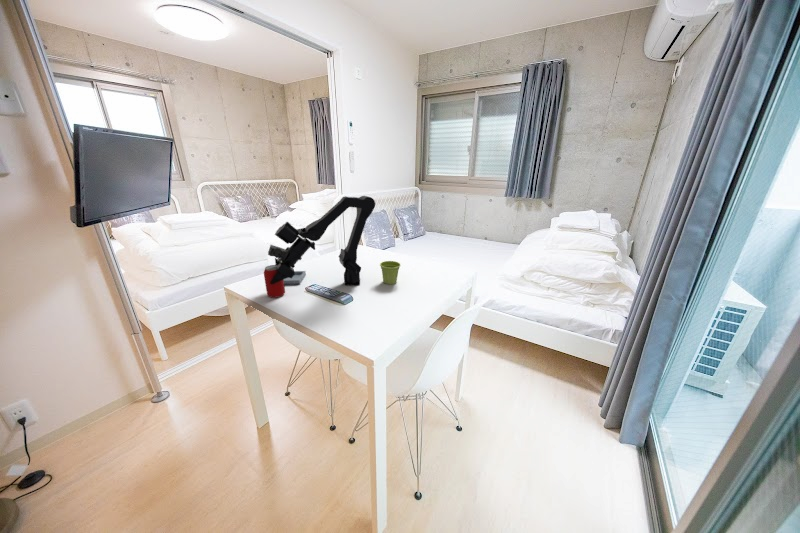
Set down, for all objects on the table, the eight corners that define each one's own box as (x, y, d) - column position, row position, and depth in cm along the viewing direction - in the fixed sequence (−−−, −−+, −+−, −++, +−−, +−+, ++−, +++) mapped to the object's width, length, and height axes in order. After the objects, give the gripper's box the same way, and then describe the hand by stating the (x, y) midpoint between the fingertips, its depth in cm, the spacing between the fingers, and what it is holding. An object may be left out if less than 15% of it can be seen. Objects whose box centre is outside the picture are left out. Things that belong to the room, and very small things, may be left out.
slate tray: (305, 274, 132) (305, 270, 131) (299, 284, 121) (299, 280, 120) (281, 275, 131) (280, 271, 130) (272, 285, 120) (272, 280, 119)
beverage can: (288, 291, 114) (284, 264, 110) (280, 299, 107) (276, 270, 103) (273, 290, 114) (268, 263, 110) (263, 298, 108) (259, 269, 104)
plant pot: (399, 278, 130) (400, 260, 127) (400, 286, 121) (400, 267, 118) (380, 277, 130) (380, 260, 127) (379, 286, 121) (379, 267, 118)
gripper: (278, 233, 112) (252, 261, 112) (281, 244, 97) (251, 277, 96) (300, 249, 118) (276, 276, 117) (306, 262, 102) (278, 293, 102)
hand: (270, 280), depth 108 cm, fingers closed on beverage can, 7 cm apart
